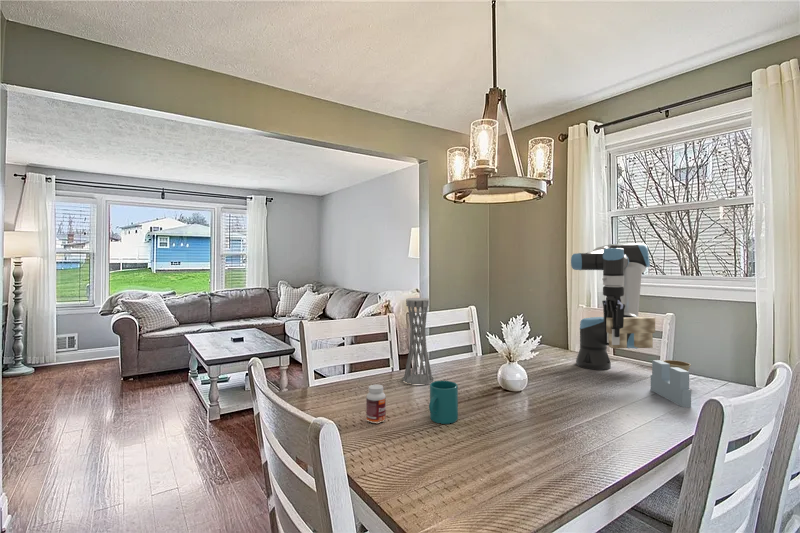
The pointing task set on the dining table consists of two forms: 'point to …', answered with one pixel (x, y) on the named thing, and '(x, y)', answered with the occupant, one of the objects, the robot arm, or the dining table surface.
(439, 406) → the cup
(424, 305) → the vase
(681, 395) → the slate board
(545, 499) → the dining table surface
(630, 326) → the maple board
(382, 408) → the pill bottle
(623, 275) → the robot arm
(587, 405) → the dining table surface
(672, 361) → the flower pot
